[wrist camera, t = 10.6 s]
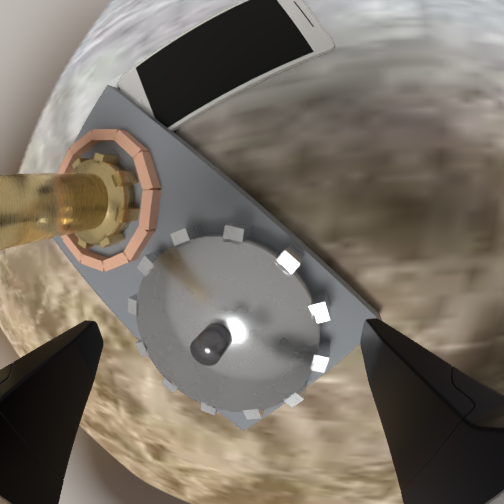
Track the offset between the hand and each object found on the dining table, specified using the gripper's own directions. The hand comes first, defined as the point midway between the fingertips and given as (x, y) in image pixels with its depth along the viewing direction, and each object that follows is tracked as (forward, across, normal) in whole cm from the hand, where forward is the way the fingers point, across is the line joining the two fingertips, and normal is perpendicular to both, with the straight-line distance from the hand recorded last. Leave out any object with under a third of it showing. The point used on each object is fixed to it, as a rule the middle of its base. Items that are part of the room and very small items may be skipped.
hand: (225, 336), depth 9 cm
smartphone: (+15, +1, -11) cm, 19 cm away
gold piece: (+13, +10, -2) cm, 16 cm away
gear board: (+12, +5, +3) cm, 13 cm away
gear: (+9, +1, +6) cm, 11 cm away
